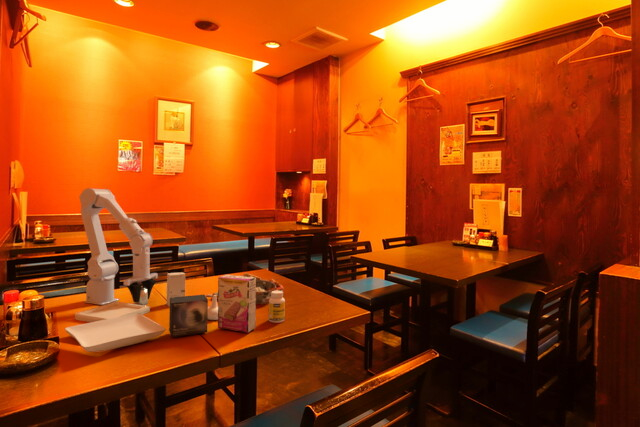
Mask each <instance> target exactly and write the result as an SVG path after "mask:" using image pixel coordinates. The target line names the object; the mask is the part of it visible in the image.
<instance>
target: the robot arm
mask: <svg viewBox="0 0 640 427" xmlns="http://www.w3.org/2000/svg"><path fill="white" fill-rule="evenodd" d="M79 200H80V206H81V207H80V215H81V219H82V223H83V227H84V231H85V235H86V238H87V243H88V247H89V250H90V254H91V257H90V258H89V260H88V261H87V266H88V267H87V276H88V277H89V278H90V279H89V280H88V281H87V283H86V288H85V289H86V290H85V291H86V292H85V294H86V296H85V297H86V298H85V299H86V300H84V301H83V302H84V304H85V303H87V304H94V305H99V306H103V305H106V304H110V303H113V302H119V301H120V298H116V297H115V277H116V275H117V273H118V272H119V265H118V262H116V260H115V257H114V255H112V254H110V253H109V251H108V248H107V244H106V239H105V236H104V232H103V228H102V225H101V220H100V217H99V216H100V215H99V214H100V212H101V211H102V210H103V209H106V210H107V211H108V213H109V214H111V216H113V218H114V219H116V221H118V222H119V225H118V227H119V229H120V231H122V233H123V234H124V235H125V237H127V239H128V240H129V242H128V243H129V246H130V248H131V253H132V276H131V277H129V278H126V279H123V286H126V288H127V289H128V290H129V293H130V294H131V298H132V301H133V303H135V302H139V299H140V290H141V287H147V288H148V300H149V299H150V298H151V297H150V296H151V293H152V290H153V288H154V285H155V284H156V279H159V278H158V277H159V275H158V274H159V273H157V272H151V271H150V270H151V266H150V264H151V263H150V262H151V261H150V260H151V259H150V258H151V257H150V255H151V254H150V253H151V252H150V251H151V250H150V248H151V246H152V245H153V242H154V238H153V236H152V234H151V233H149V232H146V231H145V230H144V229H142V228H141V227H140V225H139V224H138V221H137V220H136V219H134V218H133V217H129V216H128V215H127V214H126V213H125V211H124V210H123V209H122V207H121V206H120V205H119V203H118V202H117V200H116V196H115V195H114V194H113V193H112V192H111V190H110V189H107V188H89V187H88V188H87V187H86V188H85V189H84V190H82V192H81V193H80V194H79ZM139 283H141V284H139Z"/></svg>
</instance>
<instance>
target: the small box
mask: <svg viewBox="0 0 640 427" xmlns="http://www.w3.org/2000/svg"><path fill="white" fill-rule="evenodd" d="M208 301H209V299H208V297H206V295H205V294H195V295H185V296H182V297H171V298H170V307H169V319H168V320H169V322H168V323H169V324H168V325H169V326H168V331H169V334H170V337H171V338H176V337H183V336H188V335H189V336H190V335H198V334H204V333H208V307H209V304H208V303H209V302H208Z"/></svg>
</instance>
